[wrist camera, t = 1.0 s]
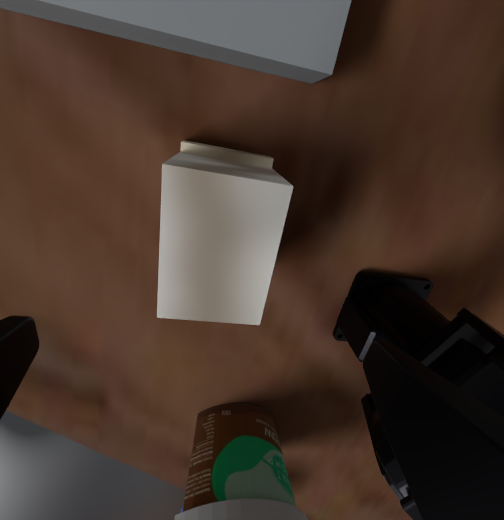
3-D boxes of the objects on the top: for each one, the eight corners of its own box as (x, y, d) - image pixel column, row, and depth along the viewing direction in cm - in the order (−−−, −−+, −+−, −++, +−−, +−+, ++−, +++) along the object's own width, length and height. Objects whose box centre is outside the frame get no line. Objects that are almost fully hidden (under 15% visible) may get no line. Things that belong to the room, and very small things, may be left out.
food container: (307, 432, 29) (346, 566, 20) (262, 456, 30) (279, 592, 22) (238, 374, 24) (249, 520, 15) (187, 406, 25) (169, 559, 16)
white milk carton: (269, 155, 16) (296, 173, 10) (246, 271, 20) (257, 332, 14) (184, 140, 15) (162, 149, 9) (176, 263, 19) (156, 325, 13)
